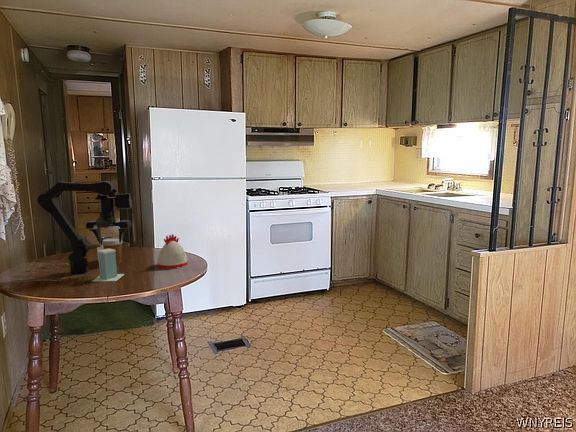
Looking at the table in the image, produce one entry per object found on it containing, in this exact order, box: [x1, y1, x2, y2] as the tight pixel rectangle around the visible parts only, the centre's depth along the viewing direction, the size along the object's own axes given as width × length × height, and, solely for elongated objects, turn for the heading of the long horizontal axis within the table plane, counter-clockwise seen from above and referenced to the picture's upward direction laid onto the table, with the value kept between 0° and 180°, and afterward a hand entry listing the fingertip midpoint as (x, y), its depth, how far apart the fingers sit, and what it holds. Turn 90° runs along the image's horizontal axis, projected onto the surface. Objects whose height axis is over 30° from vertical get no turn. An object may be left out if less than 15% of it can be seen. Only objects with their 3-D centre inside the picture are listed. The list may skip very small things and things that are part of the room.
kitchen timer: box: [157, 234, 189, 269], centre depth 202 cm, size 14×14×15 cm
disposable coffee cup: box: [102, 237, 124, 265], centre depth 206 cm, size 10×10×12 cm
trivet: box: [91, 273, 125, 282], centre depth 183 cm, size 10×10×1 cm
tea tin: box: [97, 248, 118, 280], centre depth 182 cm, size 5×5×12 cm
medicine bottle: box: [96, 236, 114, 262], centre depth 212 cm, size 7×7×12 cm
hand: (110, 242), depth 193 cm, fingers open, 9 cm apart
